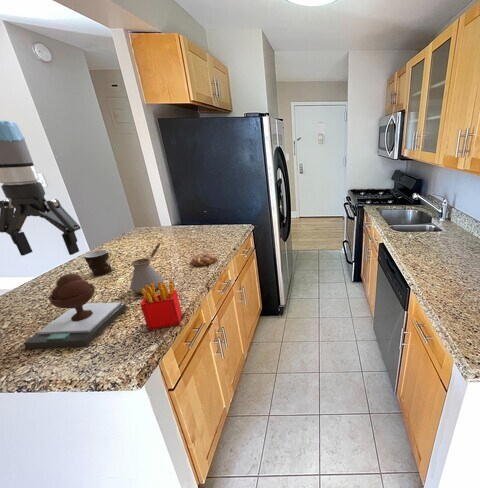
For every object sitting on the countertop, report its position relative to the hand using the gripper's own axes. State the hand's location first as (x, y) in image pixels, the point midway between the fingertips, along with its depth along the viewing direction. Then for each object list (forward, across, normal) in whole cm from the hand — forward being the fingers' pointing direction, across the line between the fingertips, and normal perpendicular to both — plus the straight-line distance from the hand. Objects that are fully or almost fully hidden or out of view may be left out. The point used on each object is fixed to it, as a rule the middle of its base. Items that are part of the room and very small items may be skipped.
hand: (51, 253), depth 79 cm
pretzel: (+26, -25, -46) cm, 58 cm away
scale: (+26, -2, +2) cm, 26 cm away
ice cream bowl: (+23, -2, +1) cm, 23 cm away
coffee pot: (+26, -12, -26) cm, 38 cm away
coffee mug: (+26, +18, -36) cm, 48 cm away
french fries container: (+26, -29, +2) cm, 39 cm away
